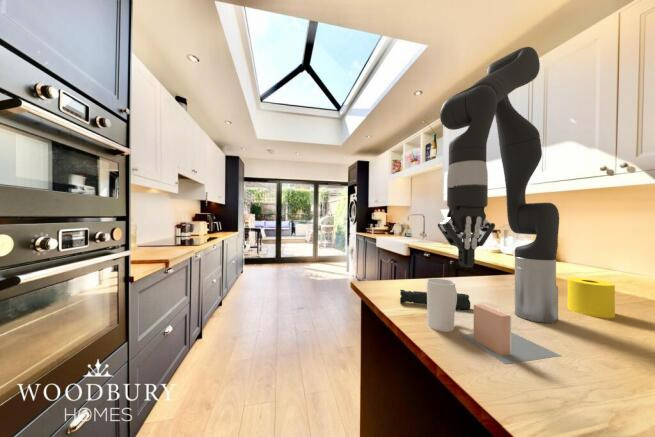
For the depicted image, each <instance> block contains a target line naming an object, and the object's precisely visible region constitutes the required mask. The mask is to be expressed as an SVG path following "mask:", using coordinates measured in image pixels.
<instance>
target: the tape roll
mask: <svg viewBox="0 0 655 437" xmlns="http://www.w3.org/2000/svg"><path fill="white" fill-rule="evenodd" d="M615 288H616V284H615V283H614V282H613V283H612V282H609V281H606V280H600V279H593V278H586V277H568V278H567V309H568V310H570V311H571V312H574V313H578V314H582V315H585V316H589V317H590V316H591V317H593V318H595V317H596V318H602V319H603V318H604V319H614V318H615V317H616V316H615V315H616V314H615V313H616V308H615V307H616V297H615V296H616V295H615V294H616V290H615Z"/></svg>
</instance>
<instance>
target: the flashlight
mask: <svg viewBox="0 0 655 437" xmlns="http://www.w3.org/2000/svg"><path fill="white" fill-rule="evenodd" d="M399 291H400V298H399V302H400V304H401V303H403V304H404V303H406V302H407V303H409V304H410V303H413V304H419V305H427V291H416V290H413V291H411V290H405V289H400V290H399ZM469 298H470V295H469V294H466V293H457V303H456V309H455V310H459V311H469V310H471V301H470V299H469Z"/></svg>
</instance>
